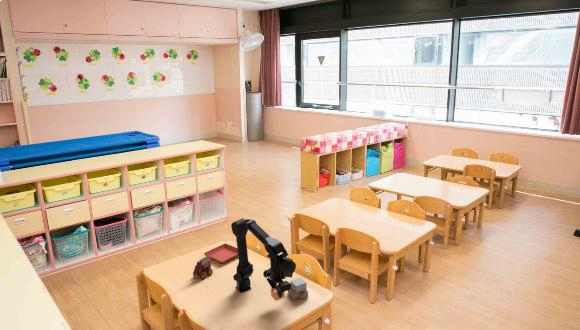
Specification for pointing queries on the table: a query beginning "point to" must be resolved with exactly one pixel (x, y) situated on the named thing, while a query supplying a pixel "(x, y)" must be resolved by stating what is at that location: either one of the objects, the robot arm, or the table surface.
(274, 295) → the terracotta block
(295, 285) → the grey block
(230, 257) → the red square tray
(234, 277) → the robot arm
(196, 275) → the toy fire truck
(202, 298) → the table surface
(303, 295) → the walnut base
